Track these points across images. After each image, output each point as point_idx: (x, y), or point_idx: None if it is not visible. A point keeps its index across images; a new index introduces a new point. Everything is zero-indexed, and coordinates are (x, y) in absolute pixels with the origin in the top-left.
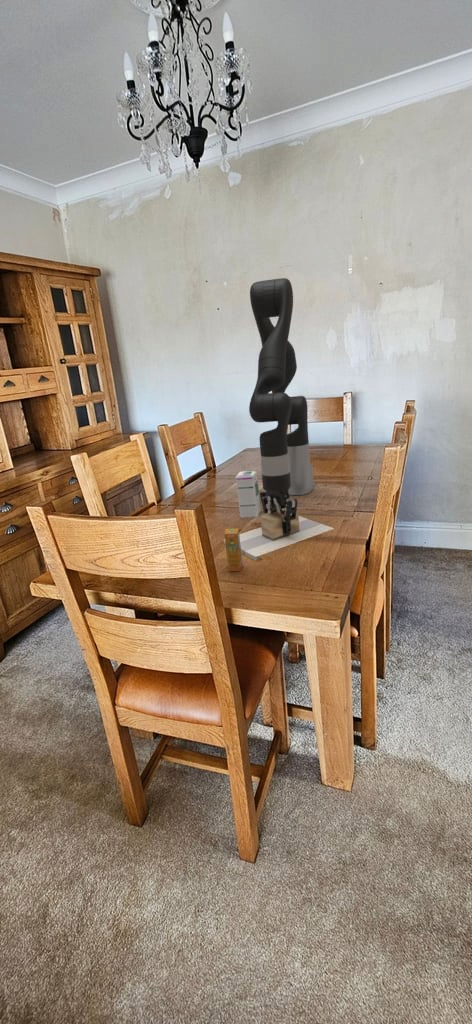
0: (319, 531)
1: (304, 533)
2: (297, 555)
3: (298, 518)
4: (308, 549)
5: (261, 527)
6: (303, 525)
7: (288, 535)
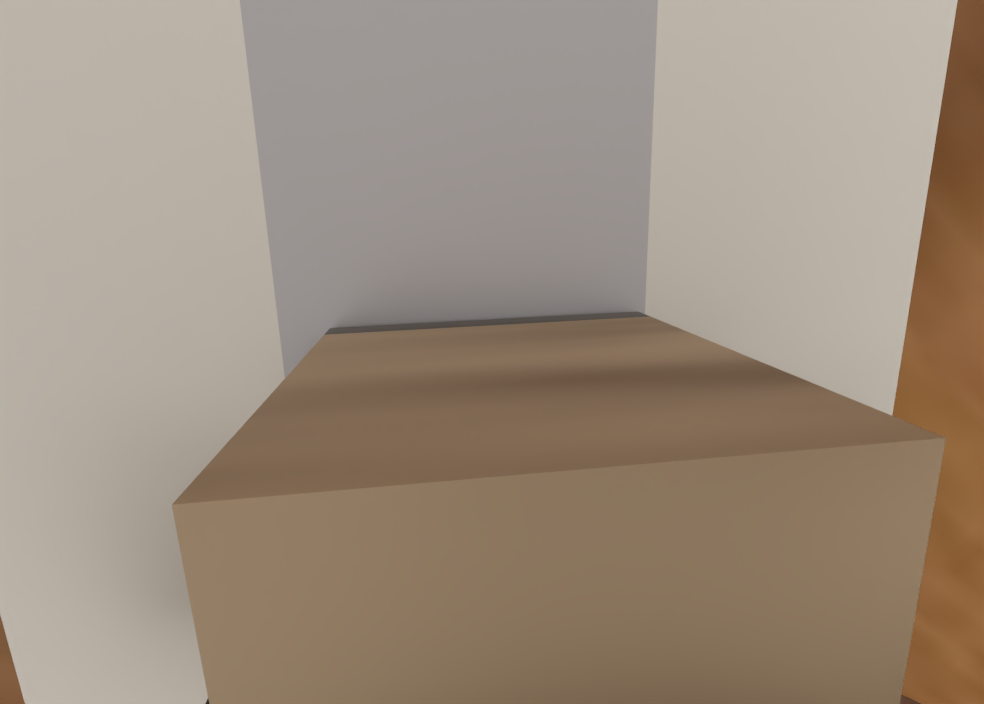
0: (873, 68)
1: (745, 300)
2: (977, 626)
3: (775, 373)
4: (977, 471)
5: (25, 651)
6: (458, 68)
7: None
